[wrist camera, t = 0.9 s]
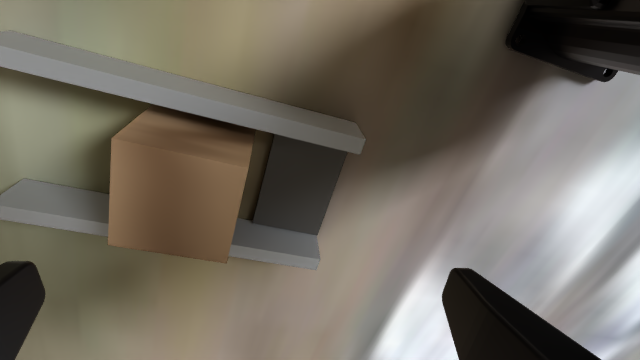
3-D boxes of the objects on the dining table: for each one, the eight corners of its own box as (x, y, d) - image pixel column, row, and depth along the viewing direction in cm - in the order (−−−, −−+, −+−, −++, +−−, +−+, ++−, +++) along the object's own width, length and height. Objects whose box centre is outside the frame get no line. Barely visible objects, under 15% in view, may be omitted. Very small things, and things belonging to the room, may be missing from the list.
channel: (355, 122, 18) (365, 139, 16) (312, 242, 22) (316, 270, 20) (10, 30, 15) (-37, 36, 13) (25, 191, 18) (-11, 217, 16)
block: (256, 126, 18) (248, 168, 14) (238, 205, 20) (226, 263, 16) (155, 101, 17) (111, 137, 12) (147, 187, 19) (107, 245, 15)
